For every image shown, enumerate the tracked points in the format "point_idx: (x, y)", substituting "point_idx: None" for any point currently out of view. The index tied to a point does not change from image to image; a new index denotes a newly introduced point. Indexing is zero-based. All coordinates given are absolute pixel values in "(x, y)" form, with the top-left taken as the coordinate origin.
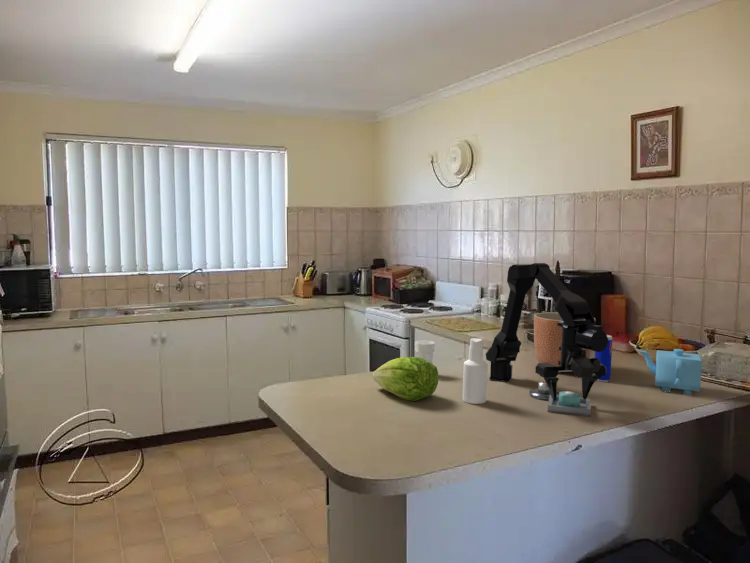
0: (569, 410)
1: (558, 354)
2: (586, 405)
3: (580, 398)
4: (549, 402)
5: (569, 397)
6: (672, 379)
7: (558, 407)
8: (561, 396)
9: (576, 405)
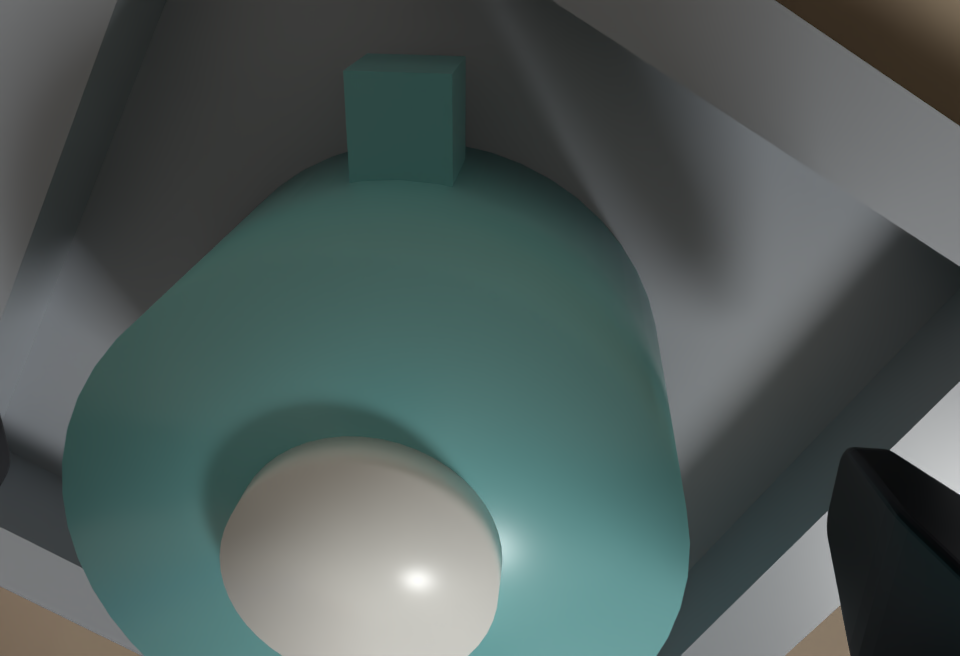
0: None
1: None
2: (88, 81)
3: (38, 568)
4: (945, 478)
5: (536, 304)
6: None
7: (953, 122)
8: (682, 497)
9: (403, 65)
